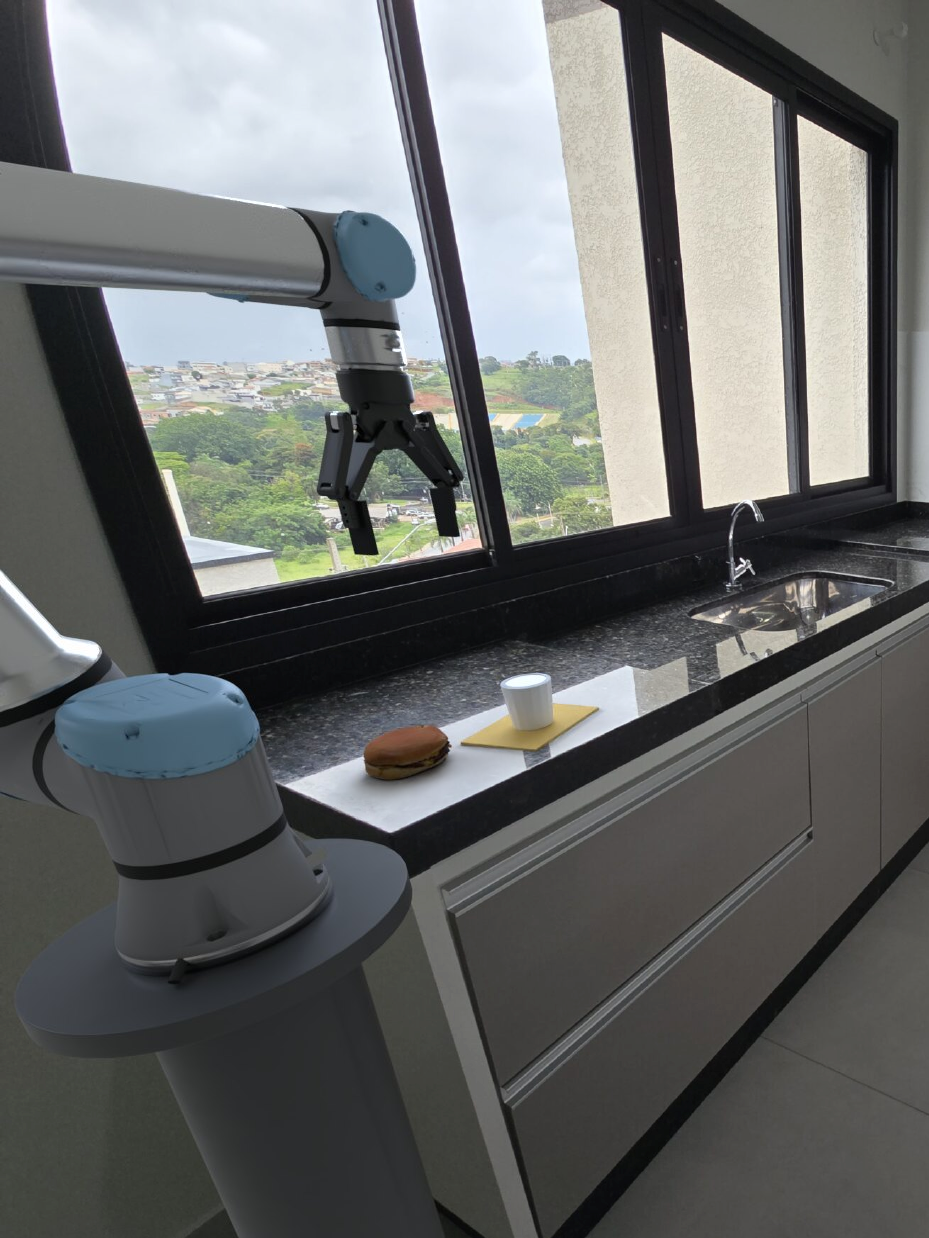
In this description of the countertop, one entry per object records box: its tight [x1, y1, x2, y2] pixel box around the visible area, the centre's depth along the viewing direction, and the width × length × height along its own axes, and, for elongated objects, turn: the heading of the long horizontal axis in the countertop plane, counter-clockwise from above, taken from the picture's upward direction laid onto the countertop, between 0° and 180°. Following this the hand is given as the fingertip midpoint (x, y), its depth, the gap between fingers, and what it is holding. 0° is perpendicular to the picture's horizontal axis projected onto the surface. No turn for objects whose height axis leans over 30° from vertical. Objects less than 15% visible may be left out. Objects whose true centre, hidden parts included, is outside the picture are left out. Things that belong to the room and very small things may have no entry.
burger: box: [363, 724, 453, 781], centre depth 100 cm, size 10×9×5 cm
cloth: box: [459, 702, 600, 752], centre depth 113 cm, size 16×12×1 cm
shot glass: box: [499, 672, 554, 731], centre depth 112 cm, size 7×7×7 cm
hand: (411, 545), depth 97 cm, fingers open, 13 cm apart
